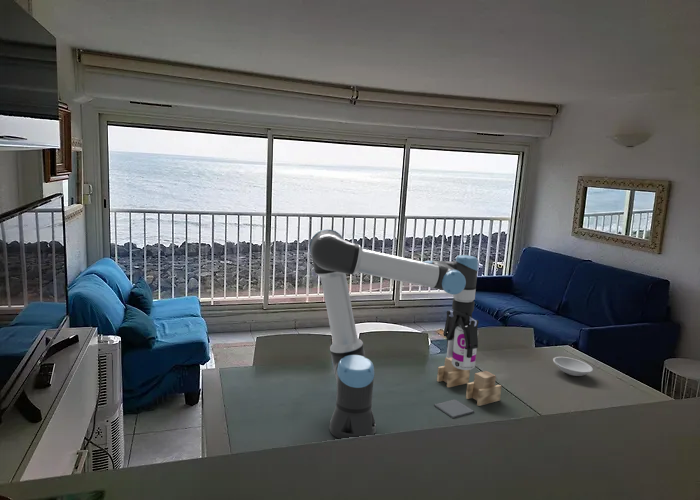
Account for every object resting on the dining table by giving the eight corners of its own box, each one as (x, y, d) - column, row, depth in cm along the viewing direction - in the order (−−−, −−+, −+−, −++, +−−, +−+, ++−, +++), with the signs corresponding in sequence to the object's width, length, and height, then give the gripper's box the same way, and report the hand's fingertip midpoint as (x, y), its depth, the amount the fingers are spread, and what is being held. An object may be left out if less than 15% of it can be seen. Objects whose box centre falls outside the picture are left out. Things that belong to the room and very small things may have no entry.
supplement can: (473, 372, 171) (477, 331, 169) (449, 368, 174) (453, 327, 172) (475, 364, 179) (479, 325, 177) (453, 360, 182) (456, 321, 180)
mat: (452, 418, 171) (452, 416, 171) (434, 405, 180) (434, 404, 179) (473, 412, 176) (473, 410, 176) (454, 400, 185) (455, 399, 184)
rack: (478, 405, 181) (481, 380, 180) (436, 380, 202) (438, 357, 200) (500, 400, 187) (502, 375, 185) (457, 376, 207) (459, 354, 206)
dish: (599, 381, 210) (601, 370, 209) (573, 384, 205) (575, 373, 204) (568, 365, 226) (570, 355, 226) (543, 368, 221) (545, 358, 221)
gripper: (493, 306, 165) (487, 370, 168) (451, 291, 182) (446, 350, 186) (477, 308, 161) (470, 373, 164) (436, 293, 178) (431, 352, 182)
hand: (458, 361), depth 175 cm, fingers closed on supplement can, 8 cm apart
